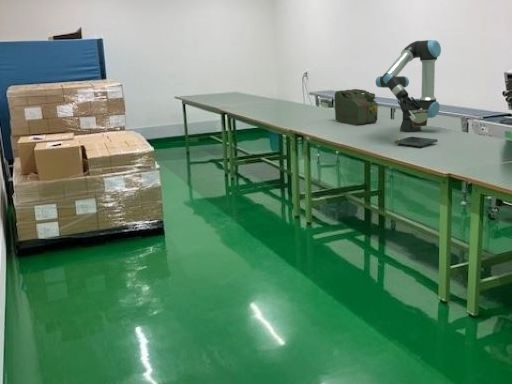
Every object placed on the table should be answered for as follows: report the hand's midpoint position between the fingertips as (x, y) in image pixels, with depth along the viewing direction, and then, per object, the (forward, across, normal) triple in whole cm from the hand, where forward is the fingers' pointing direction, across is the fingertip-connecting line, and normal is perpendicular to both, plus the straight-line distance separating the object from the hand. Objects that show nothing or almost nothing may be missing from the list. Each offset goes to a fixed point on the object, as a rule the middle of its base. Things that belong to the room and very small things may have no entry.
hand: (419, 118), depth 341 cm
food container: (+2, -1, -5) cm, 6 cm away
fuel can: (-60, -54, -85) cm, 117 cm away
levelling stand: (+10, 0, -14) cm, 18 cm away
